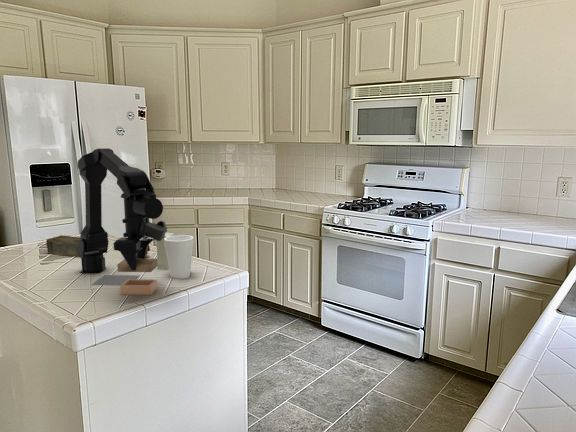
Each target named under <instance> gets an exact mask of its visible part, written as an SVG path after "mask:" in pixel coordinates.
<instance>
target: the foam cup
mask: <svg viewBox="0 0 576 432" xmlns="http://www.w3.org/2000/svg"><path fill="white" fill-rule="evenodd" d="M164 246H165V249H166V255H167V260H168V266H169V270H168V271H169V275H170V277H171V278H174V279H180V280H184V279H188V278H190V277H191V269H192V259H193V258H192V257H193V248H194V247H193V246H194V236H192V235H188V234H178V235H177V234H175V235H174V236H168V237H166V238H164Z"/></svg>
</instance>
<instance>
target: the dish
mask: <svg viewBox="0 0 576 432" xmlns="http://www.w3.org/2000/svg"><path fill="white" fill-rule="evenodd" d="M158 285H159V284H158V279H140V278H137V279H128V280H126V281H125V282H124V283H123V284H122V285H119V291H120V294H119V295H122V296H124V295H125V296H126V295H129V296H130V295H131V296H133V295H135V296H152V295H153V294H154V293H155V292H156V291H157V290H158V288H159V287H158Z"/></svg>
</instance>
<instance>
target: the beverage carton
mask: <svg viewBox="0 0 576 432" xmlns="http://www.w3.org/2000/svg"><path fill="white" fill-rule="evenodd" d="M45 241H46V248H47V254H48V253H50V254H51V255H57V254H58V255H59V256H65V255H66V256H65V257H73V256H75V257H74V258H81V257H80V256H78V255H77V253H76V247H77V245H78V243H79V241H80V237H79V236H70V235H59V236H54V237H52V238H51V237H50V238H48V239H46V240H45ZM50 254H49V255H50ZM58 255H57V256H58Z"/></svg>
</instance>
